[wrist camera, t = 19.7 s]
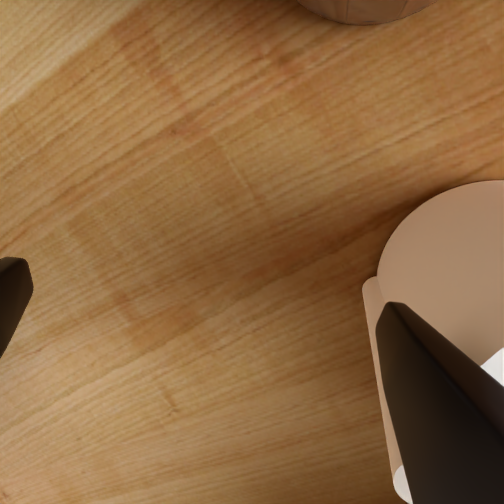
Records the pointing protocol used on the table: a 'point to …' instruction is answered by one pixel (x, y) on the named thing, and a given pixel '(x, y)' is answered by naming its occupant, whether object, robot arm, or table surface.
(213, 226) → the table surface
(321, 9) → the holder
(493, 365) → the bracket
